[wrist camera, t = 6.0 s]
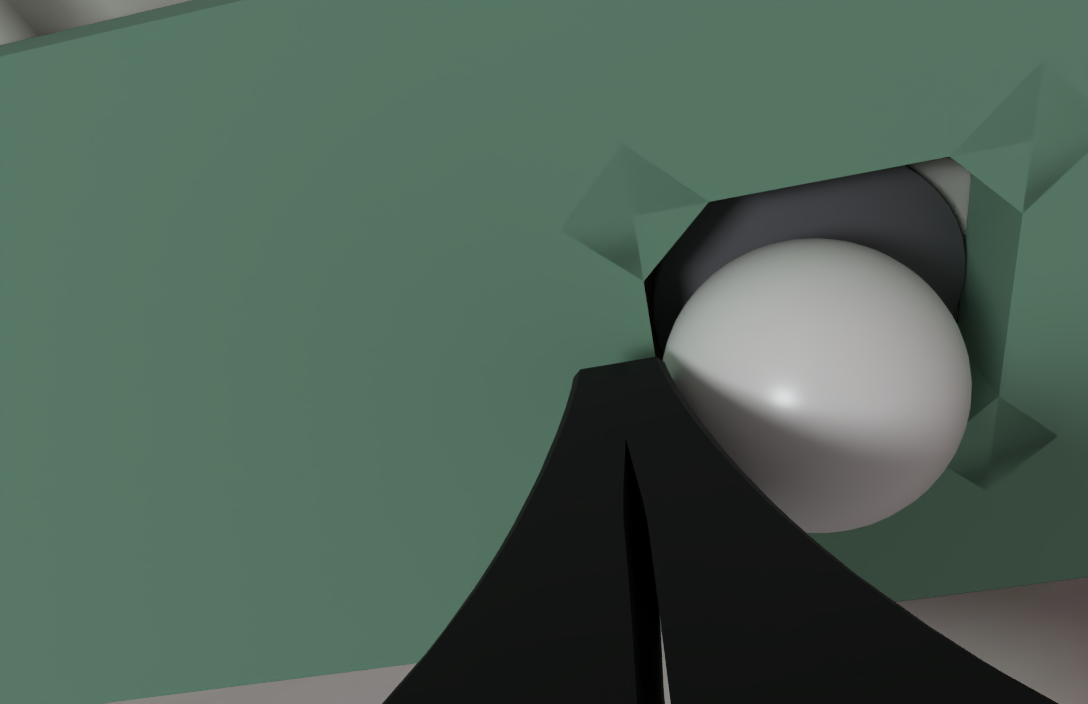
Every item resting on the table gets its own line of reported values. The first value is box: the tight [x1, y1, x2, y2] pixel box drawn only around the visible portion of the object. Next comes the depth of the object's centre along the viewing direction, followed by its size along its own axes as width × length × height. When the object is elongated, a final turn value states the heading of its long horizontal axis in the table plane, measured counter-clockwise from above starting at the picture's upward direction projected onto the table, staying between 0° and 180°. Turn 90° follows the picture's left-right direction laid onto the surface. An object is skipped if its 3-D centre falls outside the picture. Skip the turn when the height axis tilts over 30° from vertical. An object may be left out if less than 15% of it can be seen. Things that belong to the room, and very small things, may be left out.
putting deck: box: [0, 0, 1088, 704], centre depth 13 cm, size 12×27×2 cm, turn 102°
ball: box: [663, 238, 972, 533], centre depth 11 cm, size 4×4×4 cm
